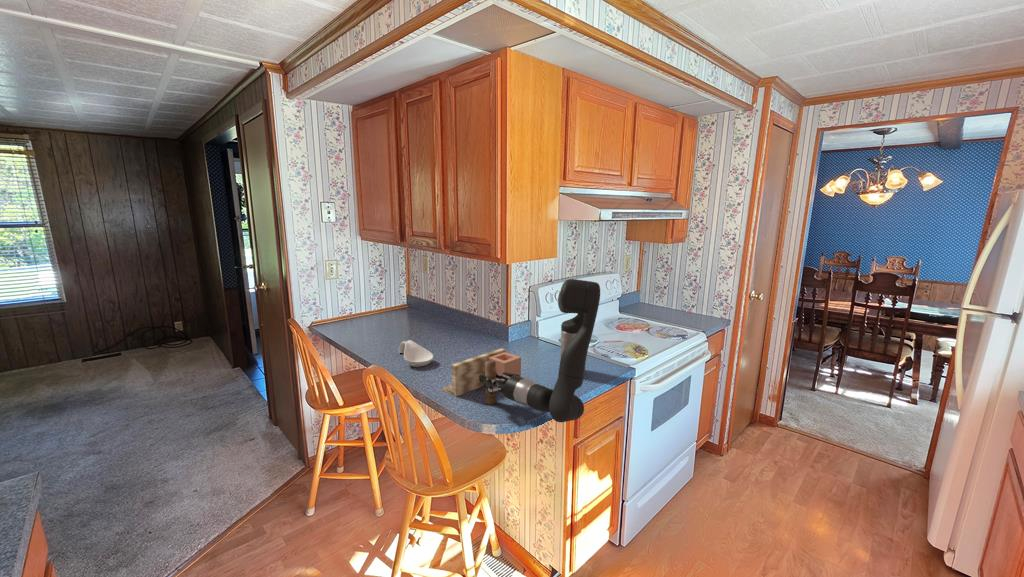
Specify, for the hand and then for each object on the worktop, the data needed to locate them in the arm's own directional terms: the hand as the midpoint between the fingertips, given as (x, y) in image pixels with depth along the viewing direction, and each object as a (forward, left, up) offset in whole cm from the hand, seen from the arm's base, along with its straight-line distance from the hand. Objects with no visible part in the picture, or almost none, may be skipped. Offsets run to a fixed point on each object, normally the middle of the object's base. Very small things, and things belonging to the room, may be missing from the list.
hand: (484, 376), depth 143 cm
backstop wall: (-7, -13, -9) cm, 17 cm away
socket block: (-14, -5, -8) cm, 17 cm away
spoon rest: (-5, -50, -9) cm, 51 cm away
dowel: (0, +3, -8) cm, 9 cm away
